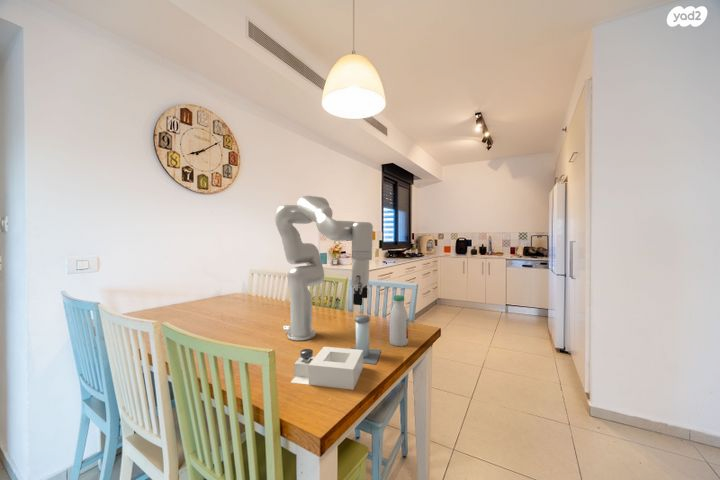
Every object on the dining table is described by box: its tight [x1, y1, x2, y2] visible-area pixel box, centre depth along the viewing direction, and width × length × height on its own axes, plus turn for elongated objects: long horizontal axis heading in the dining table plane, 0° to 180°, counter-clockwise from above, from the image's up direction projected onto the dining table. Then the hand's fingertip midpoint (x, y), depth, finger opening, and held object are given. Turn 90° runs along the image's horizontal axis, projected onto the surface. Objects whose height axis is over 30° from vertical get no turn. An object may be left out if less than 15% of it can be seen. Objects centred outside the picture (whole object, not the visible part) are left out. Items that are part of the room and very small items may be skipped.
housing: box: [289, 346, 364, 391], centre depth 93 cm, size 20×14×7 cm
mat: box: [349, 347, 382, 366], centre depth 107 cm, size 12×12×1 cm
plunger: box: [299, 348, 314, 363], centre depth 94 cm, size 4×4×6 cm
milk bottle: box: [389, 294, 409, 347], centre depth 121 cm, size 8×8×20 cm
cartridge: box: [354, 314, 371, 358], centre depth 107 cm, size 6×6×14 cm
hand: (360, 301), depth 107 cm, fingers open, 9 cm apart
